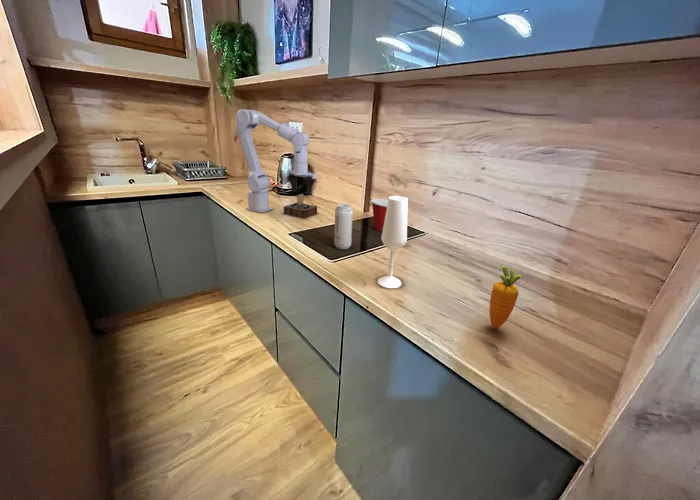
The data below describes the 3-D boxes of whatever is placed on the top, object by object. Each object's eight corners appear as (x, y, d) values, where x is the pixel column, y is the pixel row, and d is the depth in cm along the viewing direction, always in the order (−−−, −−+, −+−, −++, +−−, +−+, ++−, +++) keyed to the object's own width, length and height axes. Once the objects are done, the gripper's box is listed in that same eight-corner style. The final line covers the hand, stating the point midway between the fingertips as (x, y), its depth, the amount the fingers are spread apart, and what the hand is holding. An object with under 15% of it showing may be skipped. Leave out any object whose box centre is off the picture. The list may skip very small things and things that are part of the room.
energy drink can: (332, 244, 109) (332, 203, 103) (347, 242, 111) (349, 202, 105) (337, 250, 104) (338, 208, 98) (353, 249, 106) (355, 207, 100)
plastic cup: (396, 234, 122) (399, 205, 118) (369, 233, 122) (371, 203, 118) (393, 225, 132) (396, 198, 127) (368, 224, 132) (370, 197, 128)
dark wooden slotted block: (283, 213, 142) (283, 206, 140) (297, 209, 150) (296, 202, 149) (304, 218, 137) (304, 210, 135) (317, 213, 145) (317, 206, 143)
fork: (297, 214, 142) (296, 195, 138) (302, 212, 145) (301, 193, 141) (299, 214, 142) (298, 195, 138) (303, 212, 144) (303, 194, 141)
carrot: (511, 335, 65) (530, 274, 60) (489, 336, 65) (506, 274, 59) (499, 321, 70) (515, 263, 64) (478, 322, 70) (493, 263, 64)
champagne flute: (406, 285, 84) (417, 200, 75) (386, 290, 81) (395, 202, 72) (392, 274, 89) (400, 194, 80) (373, 279, 86) (379, 196, 77)
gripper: (281, 161, 132) (283, 192, 137) (309, 164, 126) (309, 196, 131) (291, 159, 138) (292, 189, 143) (318, 163, 132) (318, 193, 137)
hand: (301, 192), depth 138 cm, fingers open, 7 cm apart
